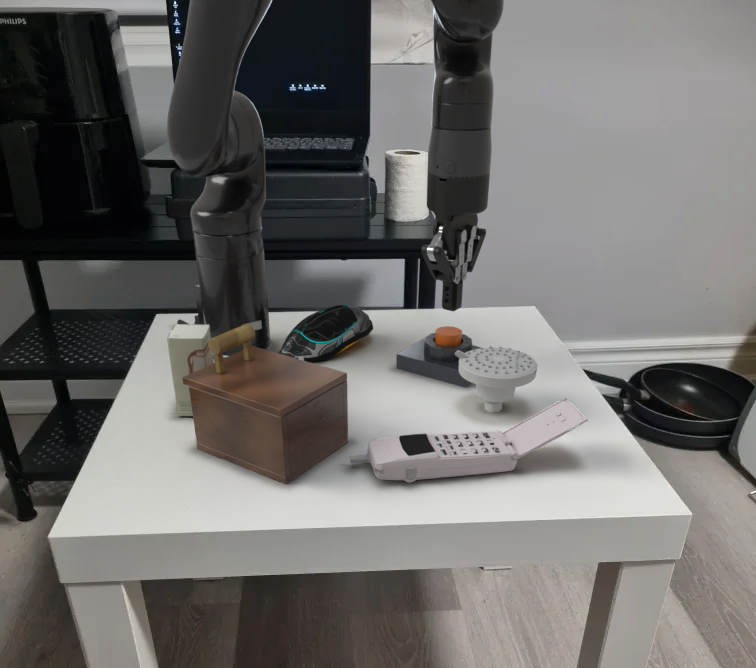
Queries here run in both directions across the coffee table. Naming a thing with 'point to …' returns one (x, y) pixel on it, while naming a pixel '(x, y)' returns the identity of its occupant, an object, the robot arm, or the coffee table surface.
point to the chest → (271, 432)
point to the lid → (261, 375)
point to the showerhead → (496, 373)
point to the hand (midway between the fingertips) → (451, 308)
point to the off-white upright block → (187, 359)
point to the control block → (435, 360)
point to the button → (448, 336)
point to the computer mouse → (327, 333)
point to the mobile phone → (468, 447)
